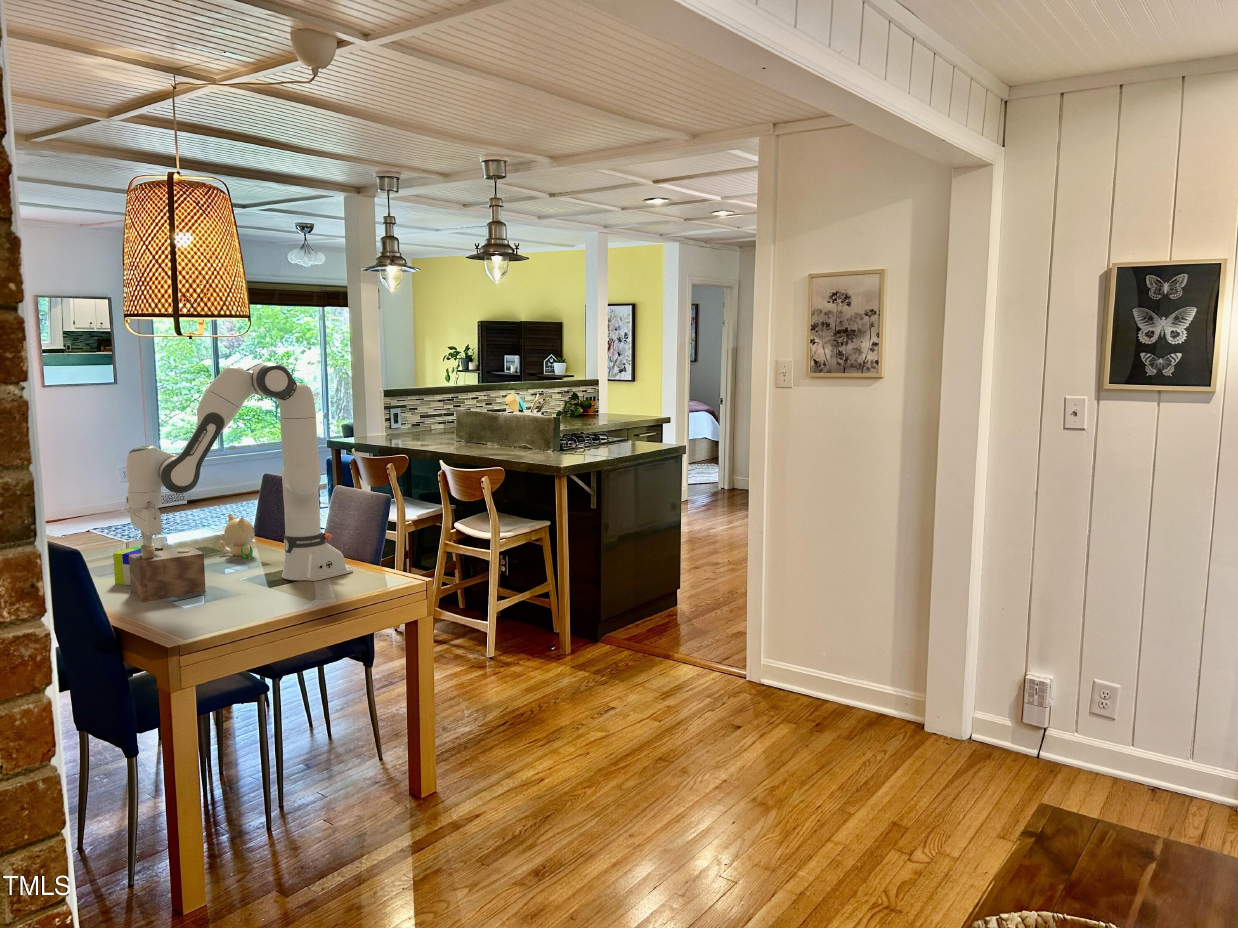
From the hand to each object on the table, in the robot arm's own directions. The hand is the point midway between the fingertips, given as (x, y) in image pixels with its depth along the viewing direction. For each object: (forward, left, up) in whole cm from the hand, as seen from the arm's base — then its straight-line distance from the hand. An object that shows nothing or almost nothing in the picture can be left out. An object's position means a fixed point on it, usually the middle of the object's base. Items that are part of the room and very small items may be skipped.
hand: (147, 544), depth 265 cm
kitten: (-39, -35, -16) cm, 55 cm away
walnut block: (-5, 0, -16) cm, 16 cm away
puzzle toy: (-2, -20, -16) cm, 26 cm away
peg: (0, 0, -11) cm, 11 cm away
